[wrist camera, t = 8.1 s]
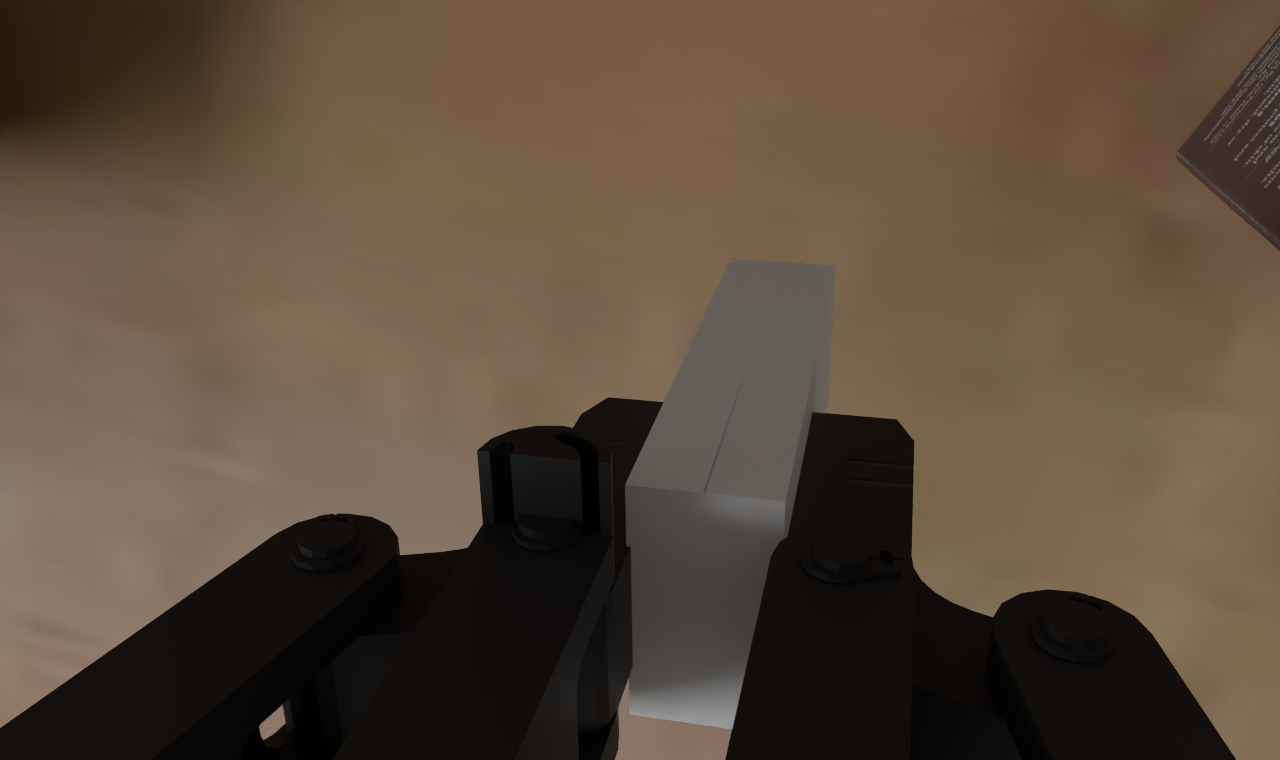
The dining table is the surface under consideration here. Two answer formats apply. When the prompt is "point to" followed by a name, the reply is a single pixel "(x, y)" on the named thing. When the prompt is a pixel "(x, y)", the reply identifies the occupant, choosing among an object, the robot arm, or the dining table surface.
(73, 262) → the dining table surface
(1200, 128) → the box
